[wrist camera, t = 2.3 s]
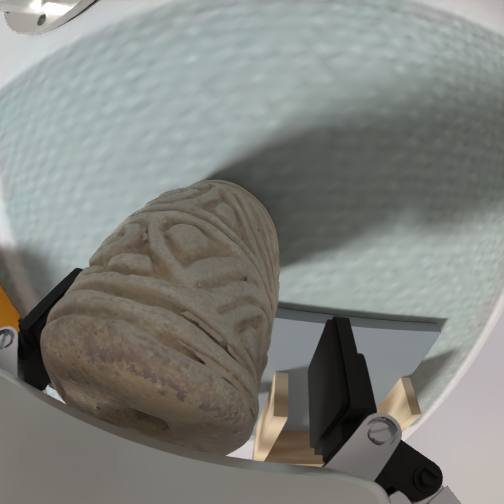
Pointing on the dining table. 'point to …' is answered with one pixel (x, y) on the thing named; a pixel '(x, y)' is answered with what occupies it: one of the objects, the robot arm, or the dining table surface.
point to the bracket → (8, 312)
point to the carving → (173, 320)
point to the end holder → (298, 443)
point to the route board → (367, 342)
